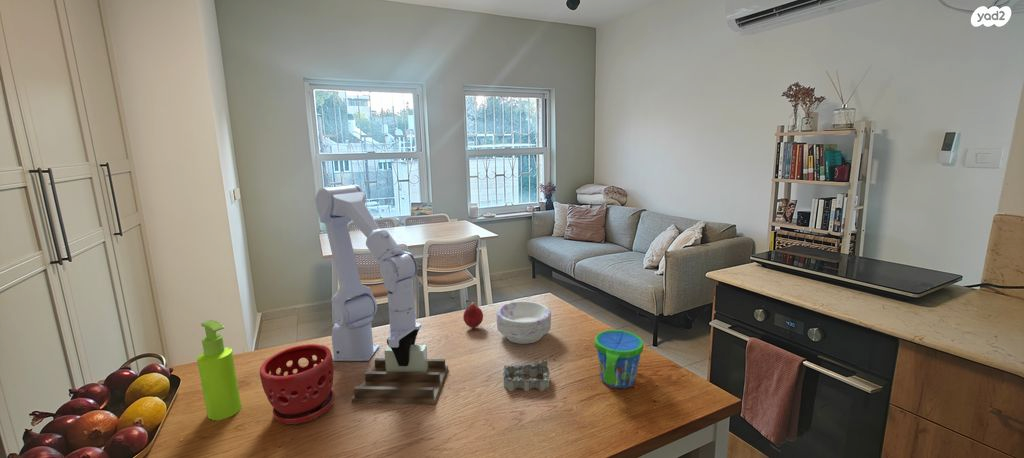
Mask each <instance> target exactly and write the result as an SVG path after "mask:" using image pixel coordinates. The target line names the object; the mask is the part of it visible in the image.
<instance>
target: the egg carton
mask: <svg viewBox="0 0 1024 458" xmlns="http://www.w3.org/2000/svg"><path fill="white" fill-rule="evenodd" d="M502 373H503V374H502V377H503V388H505V389H508V391H509V392H510V391H511V392H512V391H515V390H516V389H517V388H521V389H523V391H524V392H525V391H527V392H528V391H530V390H531V389H533V388H536V389H538V390H539V391H541V392H543V391H545V390H546V389H548V388H549V387H550V369H549V363H548V360H546V359H545V360H543V359H541V360H535V361H534V362H533V363H532V362H528V363H527V362H526V363H524V364H522V363H519V364H514V365H504V366H503V372H502ZM510 375H513V378H512V377H510ZM525 375H528V376H529V377H530V378H529V379H525ZM538 375H542V377H543V378H542V379H538V378H537V376H538ZM535 377H536V378H535Z"/></svg>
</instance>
